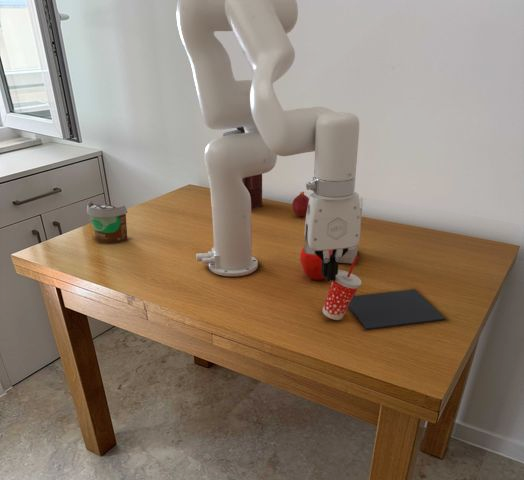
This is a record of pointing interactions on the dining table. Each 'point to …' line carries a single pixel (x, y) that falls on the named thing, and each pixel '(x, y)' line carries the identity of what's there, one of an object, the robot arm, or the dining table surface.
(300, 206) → the onion
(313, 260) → the apple
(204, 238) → the dining table surface
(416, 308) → the mat
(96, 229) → the food container
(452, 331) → the dining table surface
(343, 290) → the beverage cup
